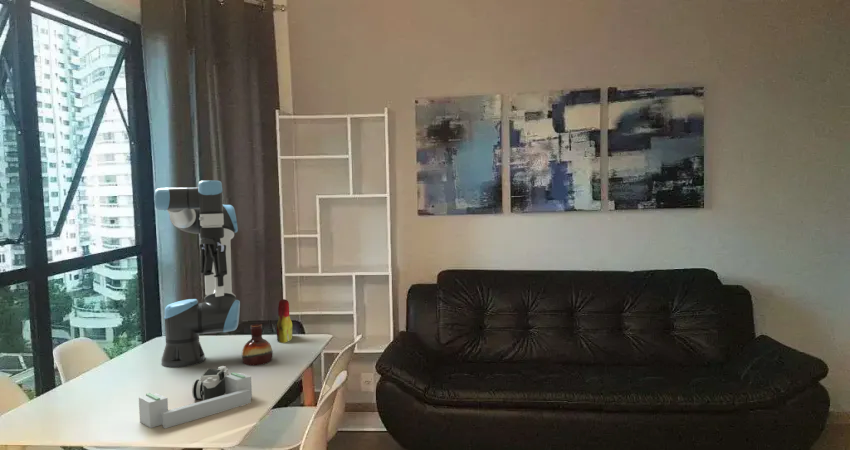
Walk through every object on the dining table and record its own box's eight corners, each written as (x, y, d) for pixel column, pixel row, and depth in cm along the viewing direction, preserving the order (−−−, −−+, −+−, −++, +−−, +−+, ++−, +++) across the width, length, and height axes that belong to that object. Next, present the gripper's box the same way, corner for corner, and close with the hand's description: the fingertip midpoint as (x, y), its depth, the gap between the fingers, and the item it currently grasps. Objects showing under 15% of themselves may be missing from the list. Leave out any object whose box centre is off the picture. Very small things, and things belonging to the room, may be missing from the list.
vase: (245, 372, 217) (243, 329, 216) (239, 364, 227) (238, 324, 226) (276, 367, 222) (274, 325, 221) (269, 360, 232) (267, 320, 231)
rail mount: (139, 422, 169) (138, 395, 169) (240, 394, 192) (239, 370, 191) (155, 431, 162) (154, 403, 162) (258, 401, 185) (257, 376, 184)
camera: (206, 390, 196) (204, 360, 196) (232, 389, 197) (231, 359, 196) (187, 407, 181) (186, 374, 180) (216, 406, 181) (215, 373, 180)
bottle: (289, 349, 248) (287, 301, 247) (273, 350, 248) (272, 301, 247) (295, 342, 260) (293, 296, 259) (280, 343, 260) (278, 297, 259)
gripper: (187, 226, 206) (190, 294, 207) (215, 227, 193) (218, 299, 194) (208, 225, 212) (211, 291, 212) (236, 226, 198) (239, 296, 199)
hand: (214, 295), depth 203 cm, fingers open, 6 cm apart
